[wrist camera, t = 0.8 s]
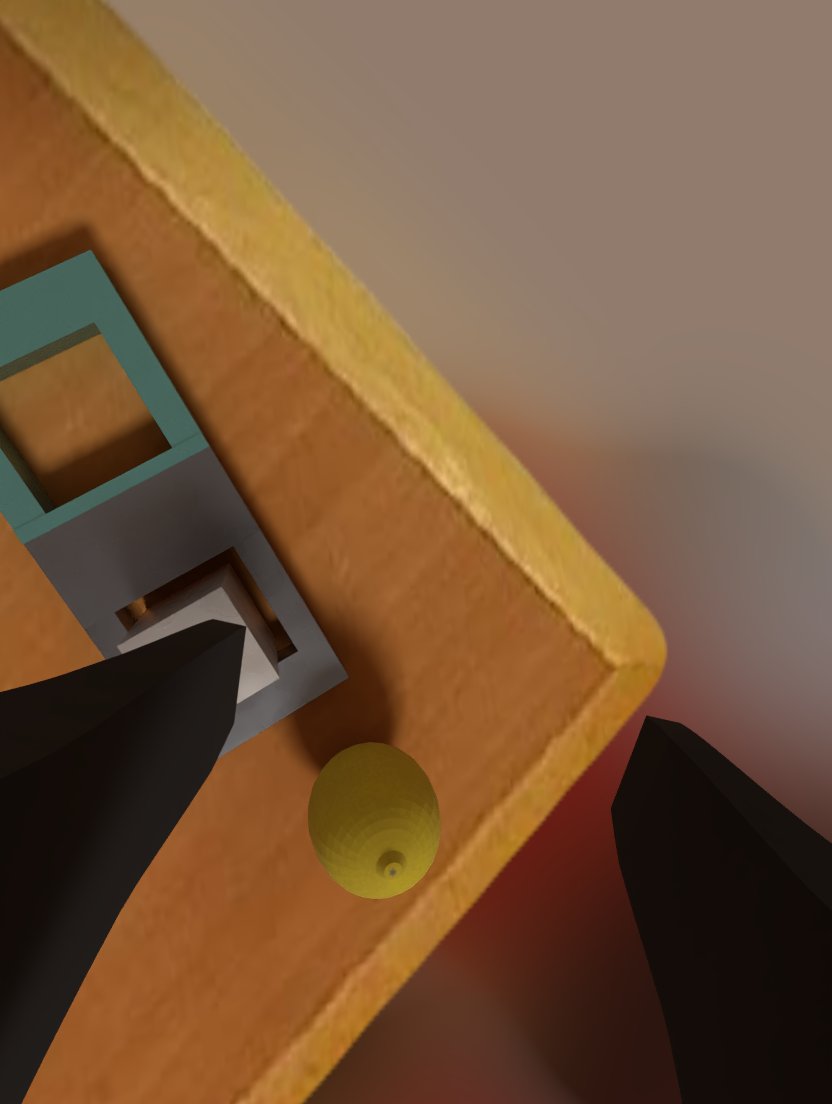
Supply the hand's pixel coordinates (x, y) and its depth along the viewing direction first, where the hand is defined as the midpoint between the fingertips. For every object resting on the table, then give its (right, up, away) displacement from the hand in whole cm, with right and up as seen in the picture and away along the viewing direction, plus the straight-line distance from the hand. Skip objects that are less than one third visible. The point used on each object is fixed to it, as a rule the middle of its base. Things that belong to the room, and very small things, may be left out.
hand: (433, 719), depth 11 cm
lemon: (-3, -8, +19) cm, 21 cm away
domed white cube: (-9, 0, +17) cm, 19 cm away
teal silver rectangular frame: (-12, +4, +16) cm, 20 cm away
